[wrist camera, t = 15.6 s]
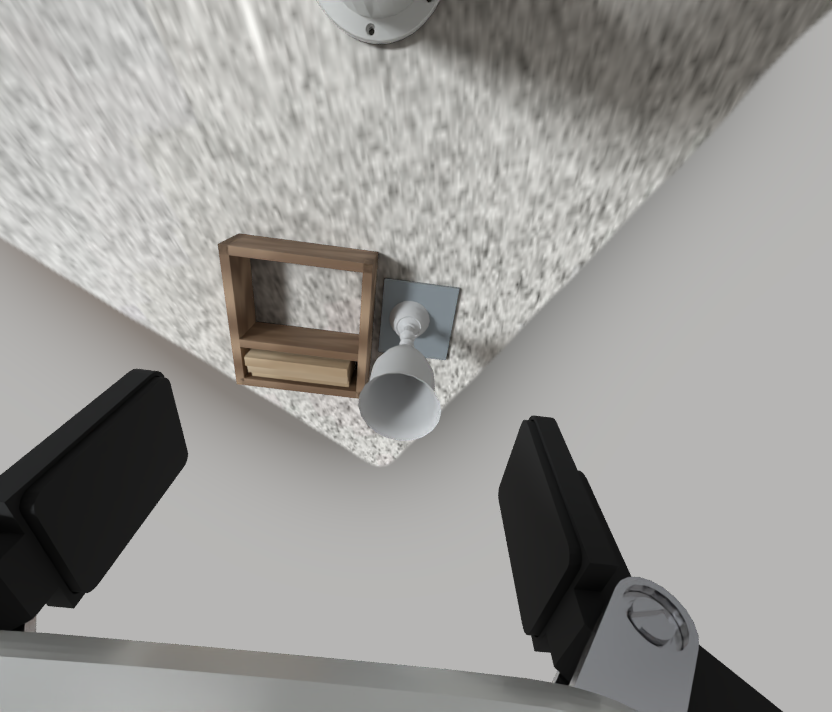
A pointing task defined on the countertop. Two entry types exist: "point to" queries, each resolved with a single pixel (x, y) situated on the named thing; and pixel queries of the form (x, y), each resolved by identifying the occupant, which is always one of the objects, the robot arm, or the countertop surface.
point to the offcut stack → (299, 367)
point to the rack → (290, 337)
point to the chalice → (402, 382)
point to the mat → (436, 303)
